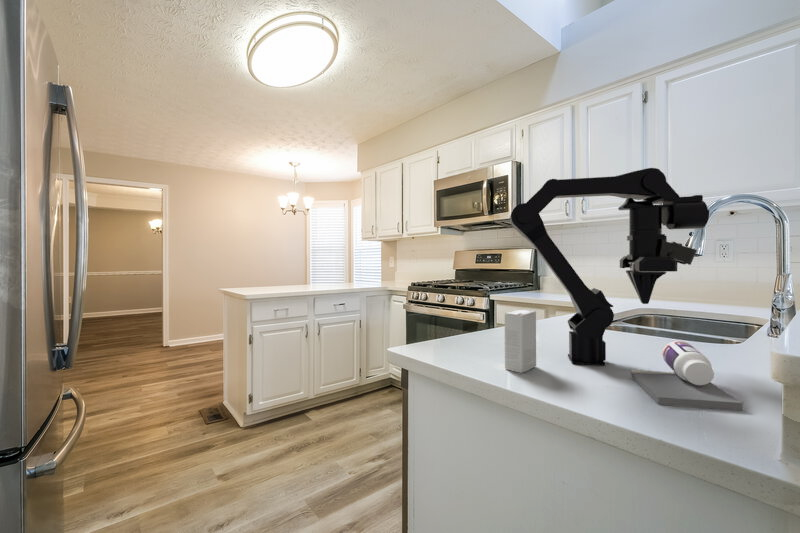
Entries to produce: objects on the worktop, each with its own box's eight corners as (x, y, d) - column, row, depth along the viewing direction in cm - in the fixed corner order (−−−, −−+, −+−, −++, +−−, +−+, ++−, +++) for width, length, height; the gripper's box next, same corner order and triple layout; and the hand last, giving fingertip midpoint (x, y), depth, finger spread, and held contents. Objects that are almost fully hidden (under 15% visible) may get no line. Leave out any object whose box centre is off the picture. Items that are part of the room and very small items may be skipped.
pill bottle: (673, 372, 71) (693, 395, 62) (655, 349, 72) (672, 368, 63) (702, 358, 69) (727, 379, 60) (683, 335, 70) (705, 352, 61)
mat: (658, 404, 58) (658, 395, 58) (631, 377, 71) (631, 369, 71) (742, 410, 55) (742, 400, 55) (698, 381, 68) (698, 373, 68)
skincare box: (518, 363, 82) (517, 308, 82) (537, 367, 79) (536, 310, 78) (503, 369, 78) (502, 312, 77) (523, 374, 75) (522, 314, 74)
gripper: (711, 225, 67) (710, 311, 67) (675, 231, 84) (674, 299, 85) (639, 228, 71) (639, 309, 71) (619, 233, 88) (619, 298, 89)
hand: (644, 303), depth 79 cm, fingers closed
